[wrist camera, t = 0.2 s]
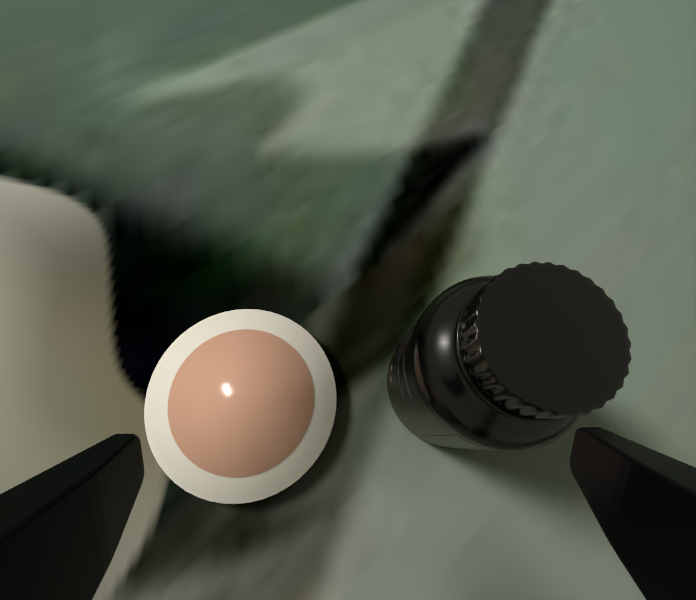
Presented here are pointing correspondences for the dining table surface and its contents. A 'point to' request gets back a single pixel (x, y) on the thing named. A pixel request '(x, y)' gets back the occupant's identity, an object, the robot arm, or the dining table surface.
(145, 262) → the dining table surface
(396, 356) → the supplement bottle
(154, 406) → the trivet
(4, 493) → the robot arm
